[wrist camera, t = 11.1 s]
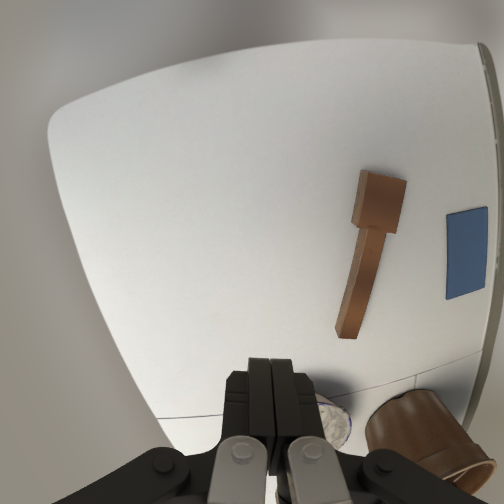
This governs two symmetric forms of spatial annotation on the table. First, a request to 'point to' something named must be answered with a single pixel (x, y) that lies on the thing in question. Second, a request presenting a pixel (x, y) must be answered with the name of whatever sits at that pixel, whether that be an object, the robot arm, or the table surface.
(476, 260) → the cloth
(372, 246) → the wooden mallet
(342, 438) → the bowl
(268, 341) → the table surface
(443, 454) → the plant pot
